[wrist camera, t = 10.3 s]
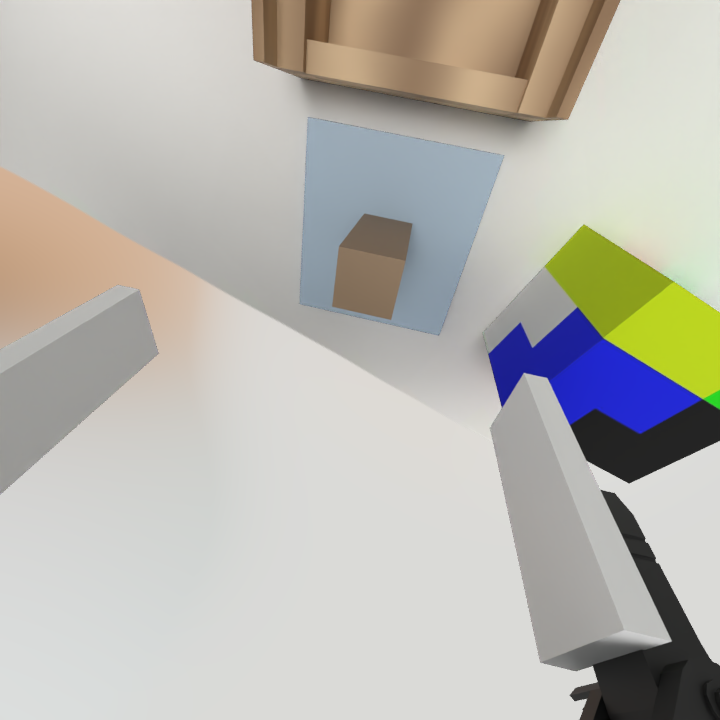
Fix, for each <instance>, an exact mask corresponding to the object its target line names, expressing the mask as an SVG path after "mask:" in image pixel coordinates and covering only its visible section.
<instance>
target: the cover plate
mask: <svg viewBox="0 0 720 720" xmlns="http://www.w3.org/2000/svg"><path fill="white" fill-rule="evenodd" d="M503 158H504V155H500V154H495V153H490V152H484V151H479V150H474V149H469V148H464V147H459V146H454V145H449V144H444V143H439V142H433V141H428V140H423V139H418V138H413V137H408V136H403V135H398V134H393V133H388V132H383V131H377V130H372V129H367V128H362V127H357V126H352V125H347V124H342V123H337V122H332V121H326V120H321V119H316V118H311V117H308V127H307V149H306V172H305V195H304V217H303V240H302V263H301V285H300V304H302V305H306V306H311V307H315V308H319V309H324V310H328V311H333V312H337V313H342V314H346V315H350V316H355V317H359V318H364V319H368V320H372V321H377V322H381V323H386V324H390V325H395V326H399V327H403V328H408V329H412V330H417V331H421V332H425V333H430V334H434V335H439V334H440V332H441V329H442V326H443V323H444V321H445V318H446V315H447V312H448V309H449V307H450V304H451V301H452V298H453V296H454V293H455V290H456V287H457V285H458V282H459V279H460V276H461V274H462V271H463V268H464V265H465V263H466V260H467V257H468V254H469V252H470V249H471V246H472V243H473V240H474V238H475V235H476V232H477V229H478V227H479V224H480V221H481V218H482V216H483V213H484V210H485V207H486V205H487V202H488V199H489V196H490V194H491V191H492V188H493V185H494V182H495V180H496V177H497V174H498V171H499V169H500V166H501V163H502V160H503Z"/></svg>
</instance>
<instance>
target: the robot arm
mask: <svg viewBox="0 0 720 720" xmlns="http://www.w3.org/2000/svg"><path fill="white" fill-rule="evenodd" d="M157 354H158V350H157V346H156V343H155V340H154V337H153V333H152V330H151V327H150V323H149V320H148V317H147V313H146V310H145V307H144V303H143V300H142V297H141V294H140V291H139V289H135V288H130V287H125V286H121V285H117V286H115V287H113V288H111V289H109V290H107V291H106V292H104V293H102V294H100V295H98V296H97V297H95V298H93V299H91V300H89V301H87V302H86V303H84V304H82V305H80V306H78V307H77V308H75V309H73V310H71V311H69V312H67V313H65V314H64V315H62V316H60V317H58V318H56V319H55V320H53V321H51V322H49V323H47V324H45V325H44V326H42V327H40V328H38V329H36V330H35V331H33V332H31V333H29V334H27V335H25V336H23V337H22V338H20V339H18V340H16V341H14V342H13V343H11V344H9V345H7V346H5V347H3V348H2V349H0V494H1V493H3V492H4V491H5V490H6V489H7V488H8V487H9V486H10V485H12V484H13V483H14V482H15V481H16V480H17V479H18V478H19V477H21V476H22V475H23V474H24V473H25V472H26V471H27V470H28V469H30V468H31V467H32V466H33V465H34V464H35V463H36V462H37V461H38V460H40V459H41V458H42V457H43V456H44V455H45V454H46V453H47V452H49V451H50V450H51V449H52V448H53V447H54V446H55V445H56V444H58V443H59V442H60V441H61V440H62V439H63V438H64V437H65V436H66V435H68V434H69V433H70V432H71V431H72V430H73V429H74V428H76V427H77V426H78V425H79V424H80V423H81V422H82V421H83V420H85V419H86V418H87V417H88V416H89V415H90V414H91V413H92V412H94V410H96V409H97V408H98V407H99V406H100V405H101V404H103V403H104V402H105V401H106V400H107V399H108V398H109V397H110V396H111V395H113V394H114V393H115V392H116V391H117V390H118V389H119V388H120V387H121V386H123V385H124V384H125V383H126V382H127V381H128V380H129V379H131V378H132V377H133V376H134V375H135V374H136V373H137V372H138V371H140V370H141V369H142V368H143V367H144V366H145V365H146V364H147V363H148V362H150V361H151V360H152V359H153V358H154V357H155V356H156V355H157ZM490 429H491V434H492V439H493V443H494V448H495V453H496V457H497V462H498V467H499V472H500V476H501V481H502V486H503V490H504V495H505V499H506V504H507V508H508V514H509V518H510V523H511V527H512V532H513V537H514V542H515V547H516V551H517V556H518V561H519V565H520V570H521V574H522V579H523V584H524V589H525V593H526V598H527V603H528V608H529V612H530V616H531V622H532V626H533V631H534V636H535V640H536V645H537V649H538V655H539V659H540V662H541V663H544V664H549V665H552V666H557V667H561V668H565V669H569V670H573V671H578V670H581V669H584V668H588V667H591V666H593V667H594V671H595V674H596V677H597V680H598V682H597V683H593V684H589V685H586V686H581V687H577V688H575V689H574V691H573V692H572V693H571V694H570V696H571V697H572V699H573V700H574V701H577V700H582V699H587V701H586V704H585V707H584V708H583V712H582V715H581V717H580V720H720V666H719V665H718V664H717V663H714V662H712V661H711V659H710V658H709V656H708V655H707V653H706V651H705V650H704V648H703V646H702V645H701V643H700V641H699V639H698V638H697V635H696V634H695V632H694V630H693V628H692V626H691V624H690V622H689V620H688V618H687V616H686V614H685V613H684V611H683V609H682V607H681V605H680V603H679V601H678V599H677V597H676V595H675V594H674V592H673V590H672V588H671V586H670V584H669V582H668V580H667V578H666V577H665V575H664V573H663V571H662V569H661V567H660V565H659V564H657V563H656V561H655V559H656V557H655V555H654V554H653V552H652V550H651V548H650V546H649V544H648V543H646V542H645V537H644V535H643V533H642V531H641V529H640V527H639V525H638V523H637V521H636V520H635V518H634V516H633V514H632V513H631V512H630V511H629V509H628V508H627V507H626V506H625V505H624V504H623V503H622V501H621V500H620V499H619V498H618V497H617V496H616V494H615V493H611V492H606V491H603V490H600V488H599V486H598V484H597V482H596V480H595V478H594V476H593V473H592V471H591V469H590V467H589V465H588V463H587V461H586V459H585V457H584V454H583V452H582V450H581V448H580V446H579V444H578V442H577V440H576V438H575V435H574V433H573V431H572V429H571V427H570V425H569V423H568V421H567V419H566V416H565V414H564V412H563V410H562V408H561V406H560V404H559V402H558V399H557V397H556V395H555V393H554V391H553V389H552V387H551V385H550V383H549V380H548V378H545V377H540V376H536V375H531V374H526V373H524V374H523V375H522V377H521V379H520V380H519V382H518V383H517V385H516V387H515V388H514V390H513V391H512V393H511V395H510V396H509V398H508V399H507V401H506V403H505V404H504V406H503V408H502V409H501V411H500V412H499V414H498V416H497V417H496V419H495V420H494V422H493V424H492V425H491V427H490Z"/></svg>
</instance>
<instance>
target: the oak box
mask: <svg viewBox="0 0 720 720" xmlns="http://www.w3.org/2000/svg"><path fill="white" fill-rule="evenodd" d="M251 1H252V29H253V56H254V60H255V61H257V62H260V63H263V64H265V65H268V66H271V67H273V68H276V69H279V70H281V71H284V72H286V73H289V74H292V75H294V76H297V77H300V78H304V79H309V80H315V81H320V82H325V83H330V84H336V85H341V86H346V87H351V88H357V89H362V90H367V91H372V92H378V93H383V94H388V95H393V96H399V97H404V98H409V99H414V100H420V101H425V102H430V103H436V104H441V105H446V106H451V107H457V108H462V109H467V110H472V111H478V112H483V113H488V114H493V115H499V116H504V117H509V118H514V119H520V120H525V121H548V120H566V119H568V118H569V116H570V114H571V112H572V109H573V107H574V105H575V102H576V100H577V98H578V96H579V93H580V91H581V89H582V87H583V84H584V82H585V80H586V77H587V75H588V73H589V71H590V68H591V66H592V64H593V61H594V59H595V57H596V55H597V52H598V50H599V48H600V46H601V43H602V41H603V39H604V36H605V34H606V32H607V30H608V27H609V25H610V23H611V21H612V18H613V16H614V14H615V11H616V9H617V7H618V5H619V2H620V0H251Z"/></svg>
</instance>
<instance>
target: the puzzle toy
mask: <svg viewBox="0 0 720 720" xmlns="http://www.w3.org/2000/svg"><path fill="white" fill-rule="evenodd" d="M483 335H484V339H485V343H486V347H487V351H488V355H489V359H490V363H491V367H492V370H493V374H494V378H495V382H496V386H497V390H498V394H499V398H500V402H501V406H502V408H503V406H504V404H505V403H506V401H507V399H508V398H509V396H510V395H511V393H512V391H513V390H514V388H515V387H516V385H517V383H518V382H519V380H520V379H521V377H522V375H523V374H524V373H526V374H531V375H536V376H540V377H545V378H548V380H549V383H550V385H551V387H552V389H553V391H554V393H555V395H556V397H557V399H558V402H559V404H560V406H561V408H562V410H563V412H564V414H565V416H566V419H567V421H568V423H569V425H570V427H571V429H572V431H573V433H574V435H575V438H576V440H577V442H578V444H579V446H580V448H581V450H582V452H583V454H584V457H585V459H586V461H588V462H590V463H592V464H594V465H596V466H597V467H599V468H601V469H603V470H605V471H607V472H609V473H611V474H612V475H615V476H616V477H618V478H620V479H622V480H623V481H626V482H627V483H631V482H633V481H635V480H637V479H640V478H642V477H644V476H646V475H648V474H650V473H652V472H654V471H657V470H659V469H661V468H663V467H665V466H667V465H669V464H671V463H673V462H676V461H678V460H680V459H682V458H684V457H686V456H688V455H691V454H693V453H695V452H697V451H699V450H701V449H703V448H705V447H707V446H710V445H712V444H714V443H716V442H718V441H720V312H718V311H717V310H715V309H714V308H712V307H711V306H709V305H708V304H706V303H705V302H703V301H702V300H700V299H699V298H697V297H696V296H694V295H693V294H691V293H690V292H688V291H687V290H685V289H684V288H682V287H681V286H679V285H678V284H676V283H675V282H673V281H672V280H670V279H669V278H667V277H666V276H664V275H662V274H661V273H659V272H658V271H656V270H655V269H653V268H652V267H650V266H648V265H647V264H645V263H644V262H642V261H641V260H639V259H637V258H636V257H634V256H633V255H631V254H630V253H628V252H626V251H625V250H623V249H622V248H620V247H619V246H617V245H615V244H614V243H612V242H611V241H609V240H608V239H606V238H604V237H603V236H601V235H600V234H598V233H597V232H595V231H593V230H592V229H590V228H589V227H587V226H586V225H583V226H582V227H581V228H580V229H579V230H578V231H577V232H576V233H575V234H574V236H573V237H572V238H571V239H570V240H569V241H568V242H567V243H566V244H565V245H564V246H563V247H562V248H561V249H560V250H559V252H558V253H557V254H556V255H555V256H554V257H553V258H552V259H551V260H550V261H549V262H548V263H547V264H546V265H545V267H544V268H543V269H542V270H541V271H540V272H539V273H538V274H537V275H536V276H535V277H534V278H533V279H532V280H531V282H530V283H529V284H528V285H527V286H526V287H525V288H524V289H523V290H522V291H521V292H520V293H519V294H518V295H517V297H516V298H515V299H514V300H513V301H512V302H511V303H510V304H509V305H508V306H507V307H506V308H505V309H504V310H503V312H502V313H501V314H500V315H499V316H498V317H497V318H496V319H495V320H494V321H493V322H492V323H491V324H490V325H489V327H488V328H487V329H486V330H485V331H484V332H483Z"/></svg>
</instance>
